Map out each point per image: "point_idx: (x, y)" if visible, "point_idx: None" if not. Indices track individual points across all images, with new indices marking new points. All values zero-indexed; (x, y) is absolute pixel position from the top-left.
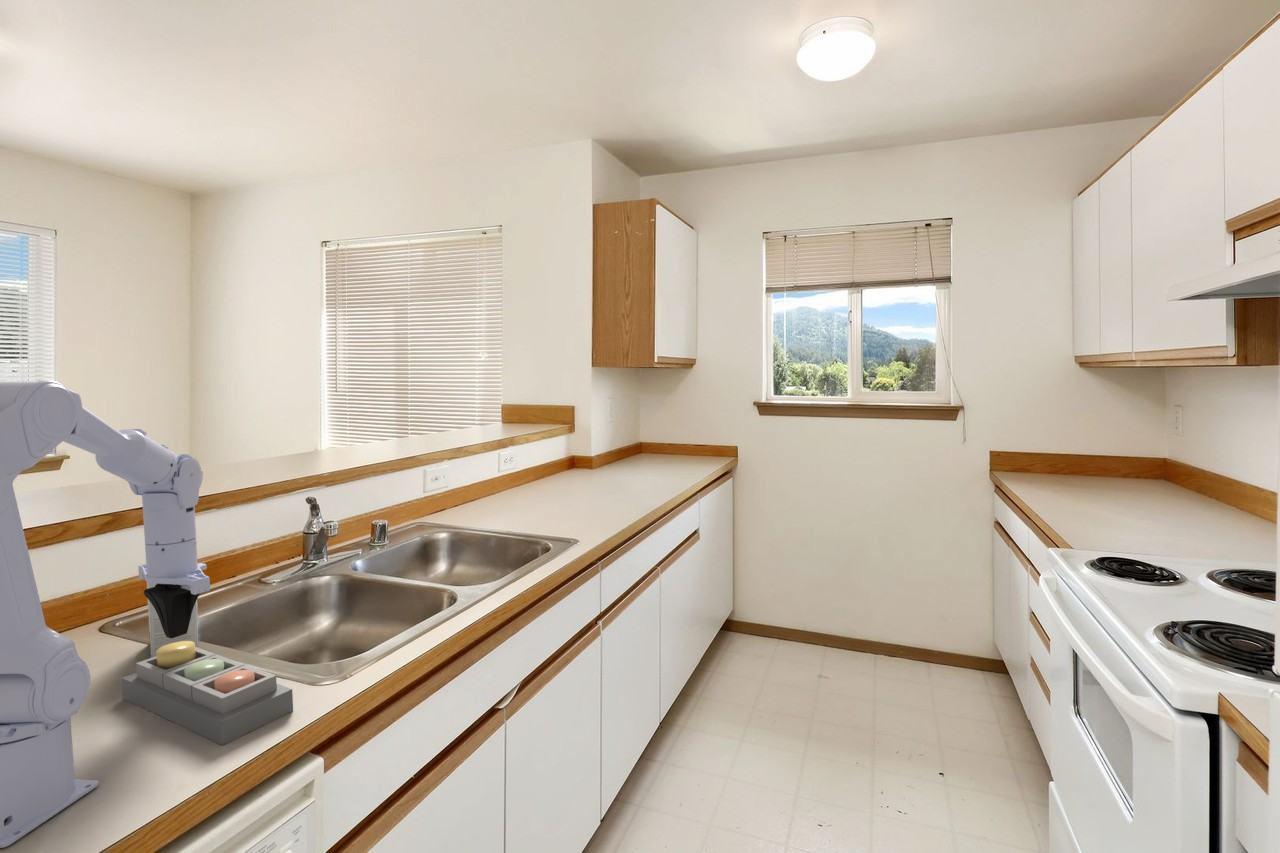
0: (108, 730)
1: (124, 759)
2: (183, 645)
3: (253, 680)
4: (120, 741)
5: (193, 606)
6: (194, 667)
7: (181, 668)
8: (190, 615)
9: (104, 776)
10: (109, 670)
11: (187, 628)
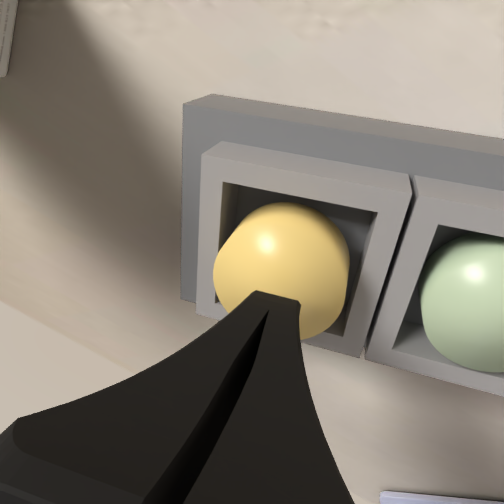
0: (327, 369)
1: (481, 441)
2: (285, 266)
3: None
4: (401, 396)
5: (314, 408)
6: (462, 332)
7: (389, 320)
8: (300, 360)
9: (496, 479)
10: (6, 168)
11: (298, 316)
